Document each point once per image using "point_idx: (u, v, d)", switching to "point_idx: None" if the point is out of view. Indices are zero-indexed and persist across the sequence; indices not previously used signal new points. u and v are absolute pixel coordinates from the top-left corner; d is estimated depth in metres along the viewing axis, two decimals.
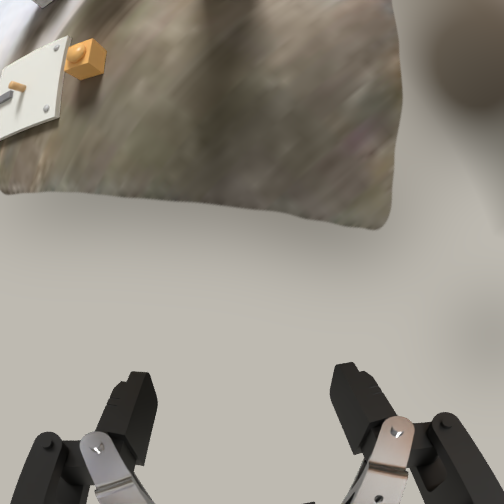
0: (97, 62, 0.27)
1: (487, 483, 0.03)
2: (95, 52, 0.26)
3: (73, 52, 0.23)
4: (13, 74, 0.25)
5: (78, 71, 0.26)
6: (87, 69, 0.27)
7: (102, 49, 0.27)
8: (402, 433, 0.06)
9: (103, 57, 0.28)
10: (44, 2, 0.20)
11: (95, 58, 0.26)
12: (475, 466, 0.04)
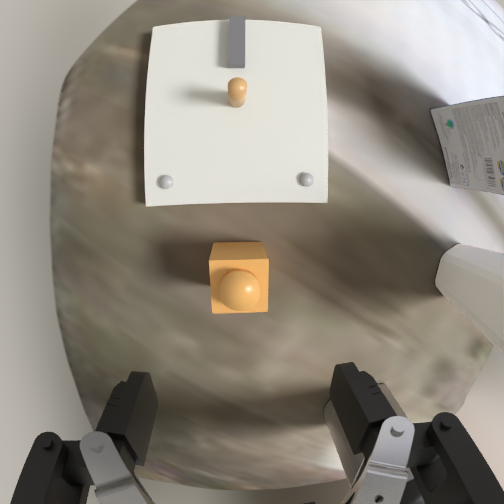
0: None
1: (487, 483, 0.03)
2: None
3: (240, 290, 0.20)
4: (289, 60, 0.20)
5: None
6: None
7: None
8: (402, 433, 0.06)
9: None
10: (440, 119, 0.22)
11: None
12: (475, 466, 0.04)
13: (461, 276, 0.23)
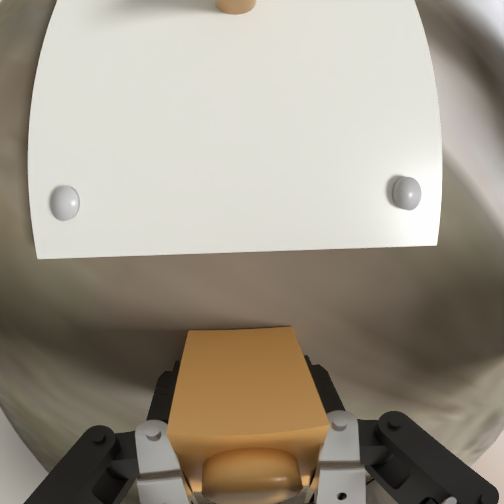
0: None
1: (458, 471, 0.04)
2: None
3: (253, 491, 0.05)
4: None
5: None
6: None
7: None
8: (342, 428, 0.07)
9: None
10: None
11: None
12: (439, 459, 0.05)
13: None
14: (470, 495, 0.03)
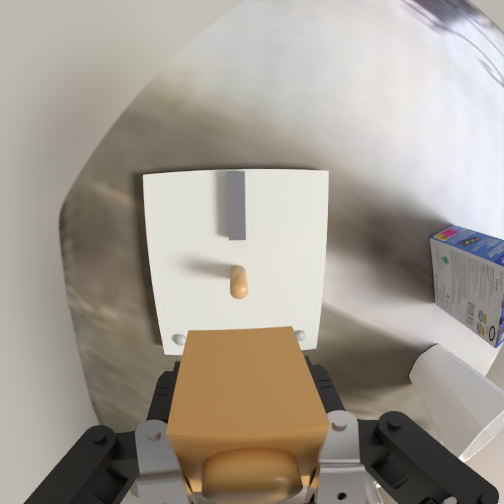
0: None
1: (458, 471, 0.04)
2: None
3: (253, 491, 0.05)
4: (291, 223, 0.23)
5: None
6: None
7: None
8: (343, 428, 0.07)
9: None
10: (437, 251, 0.25)
11: None
12: (439, 458, 0.05)
13: (428, 382, 0.27)
14: (470, 495, 0.03)
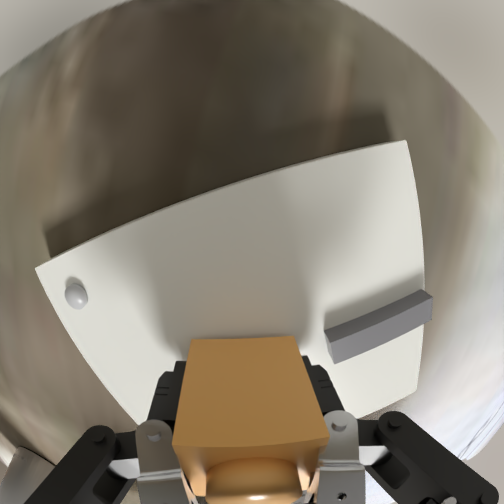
0: None
1: (458, 471, 0.04)
2: None
3: (255, 498, 0.06)
4: (354, 392, 0.14)
5: None
6: None
7: None
8: (342, 428, 0.07)
9: None
10: None
11: None
12: (439, 459, 0.05)
13: None
14: (470, 495, 0.03)
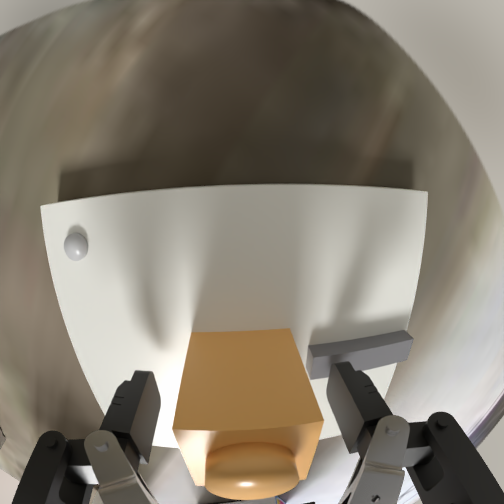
0: None
1: (485, 481, 0.03)
2: None
3: (252, 484, 0.06)
4: None
5: None
6: None
7: None
8: (397, 432, 0.06)
9: None
10: None
11: None
12: (472, 465, 0.04)
13: None
14: None
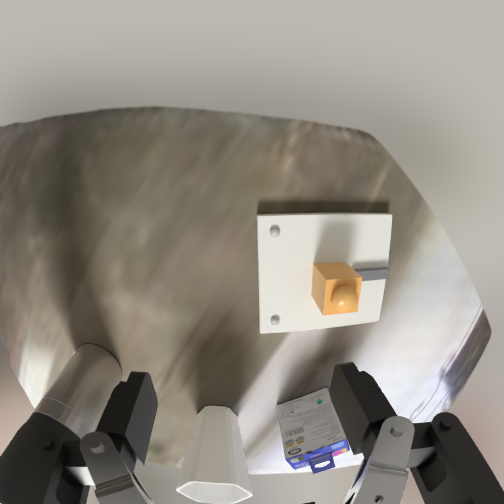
0: None
1: (487, 483, 0.03)
2: None
3: (346, 298, 0.28)
4: None
5: (320, 286, 0.31)
6: (318, 297, 0.32)
7: None
8: (402, 433, 0.06)
9: None
10: (321, 395, 0.41)
11: None
12: (475, 466, 0.04)
13: (221, 424, 0.37)
14: None
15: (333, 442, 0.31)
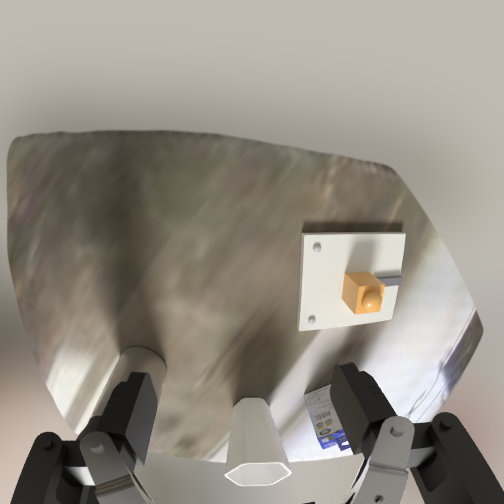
0: None
1: (487, 483, 0.03)
2: None
3: (373, 301, 0.35)
4: None
5: (352, 292, 0.38)
6: (350, 300, 0.38)
7: None
8: (402, 433, 0.06)
9: None
10: None
11: None
12: (475, 466, 0.04)
13: (259, 413, 0.44)
14: None
15: None
